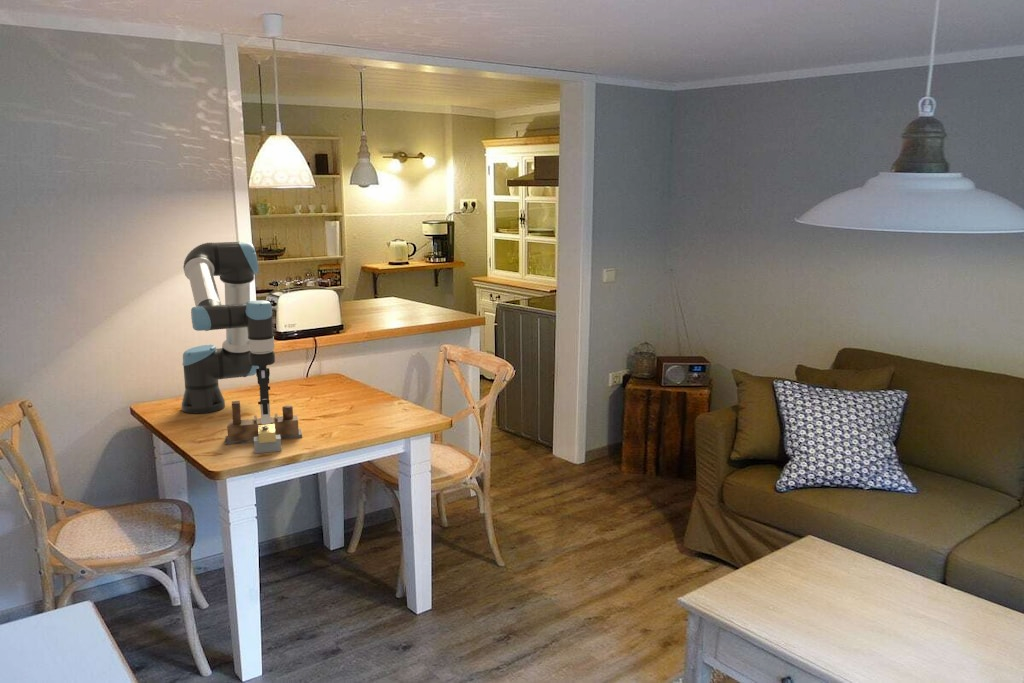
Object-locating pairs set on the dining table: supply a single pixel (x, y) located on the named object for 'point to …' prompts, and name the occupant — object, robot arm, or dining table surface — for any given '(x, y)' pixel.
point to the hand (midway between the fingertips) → (265, 417)
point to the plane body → (249, 428)
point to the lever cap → (266, 433)
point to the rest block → (267, 445)
